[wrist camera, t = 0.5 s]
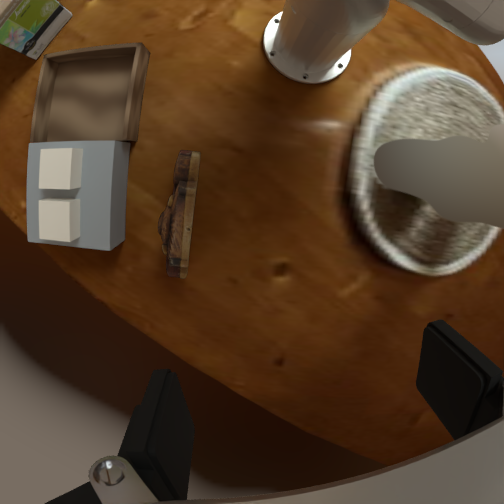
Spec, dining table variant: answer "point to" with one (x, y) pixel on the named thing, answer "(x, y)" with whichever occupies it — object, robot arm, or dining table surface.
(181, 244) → the wooden carving
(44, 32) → the tea box
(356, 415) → the dining table surface
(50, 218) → the cream upright block
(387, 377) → the dining table surface
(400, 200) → the dining table surface
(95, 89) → the box
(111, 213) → the grey square block
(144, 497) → the robot arm
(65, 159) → the cream square-faced block
